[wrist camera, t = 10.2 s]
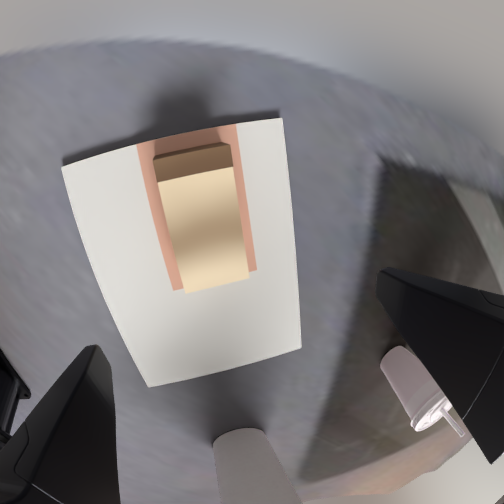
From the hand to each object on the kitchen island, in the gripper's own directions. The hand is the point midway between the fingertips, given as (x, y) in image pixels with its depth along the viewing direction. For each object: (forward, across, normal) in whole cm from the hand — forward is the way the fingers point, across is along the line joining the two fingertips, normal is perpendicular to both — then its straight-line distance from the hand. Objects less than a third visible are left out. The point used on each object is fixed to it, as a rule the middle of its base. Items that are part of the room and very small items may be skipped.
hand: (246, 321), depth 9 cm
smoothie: (+12, -18, +22) cm, 31 cm away
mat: (+12, +1, +4) cm, 13 cm away
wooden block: (+11, 0, 0) cm, 11 cm away
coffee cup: (+12, +2, +28) cm, 31 cm away
